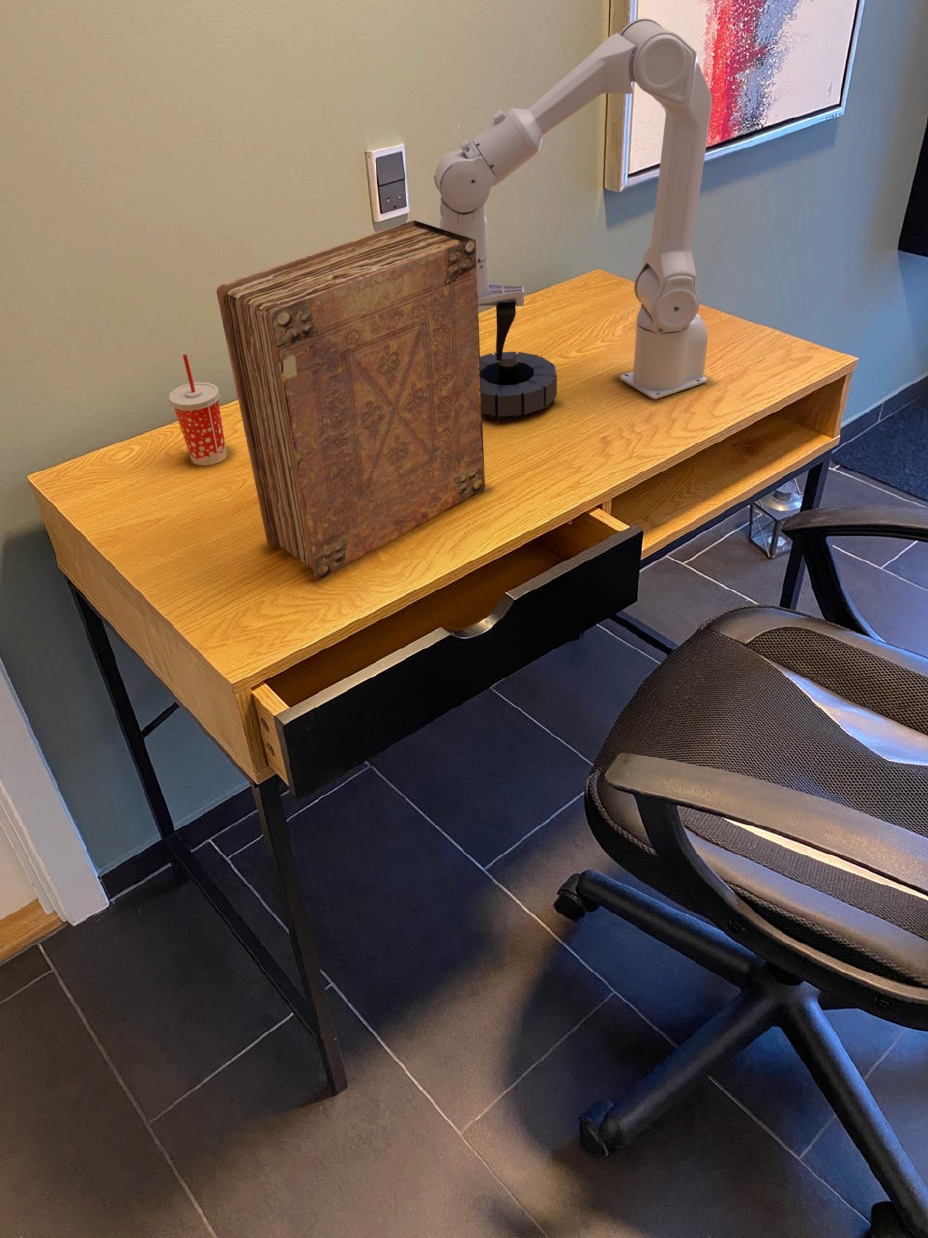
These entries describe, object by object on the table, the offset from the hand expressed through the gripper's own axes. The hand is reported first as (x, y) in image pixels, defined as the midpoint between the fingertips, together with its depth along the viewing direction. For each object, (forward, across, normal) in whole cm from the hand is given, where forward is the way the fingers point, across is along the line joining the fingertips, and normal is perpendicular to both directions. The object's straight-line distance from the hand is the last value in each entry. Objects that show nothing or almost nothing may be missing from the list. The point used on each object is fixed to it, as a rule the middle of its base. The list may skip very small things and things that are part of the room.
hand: (470, 358), depth 133 cm
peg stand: (+6, +5, 0) cm, 8 cm away
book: (+7, -11, -28) cm, 31 cm away
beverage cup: (+6, -34, -12) cm, 37 cm away
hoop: (+5, +5, 0) cm, 7 cm away
